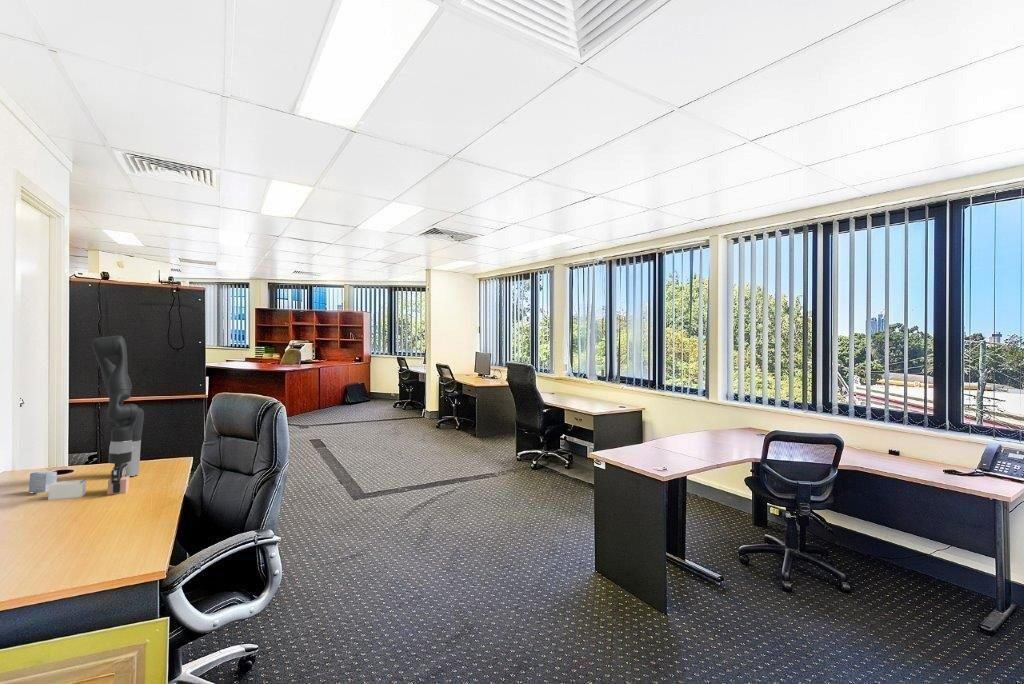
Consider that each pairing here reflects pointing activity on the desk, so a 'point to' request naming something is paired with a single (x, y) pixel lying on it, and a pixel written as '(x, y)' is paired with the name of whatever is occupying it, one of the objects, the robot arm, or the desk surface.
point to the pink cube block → (123, 486)
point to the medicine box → (41, 481)
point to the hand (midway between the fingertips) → (118, 490)
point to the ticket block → (67, 489)
